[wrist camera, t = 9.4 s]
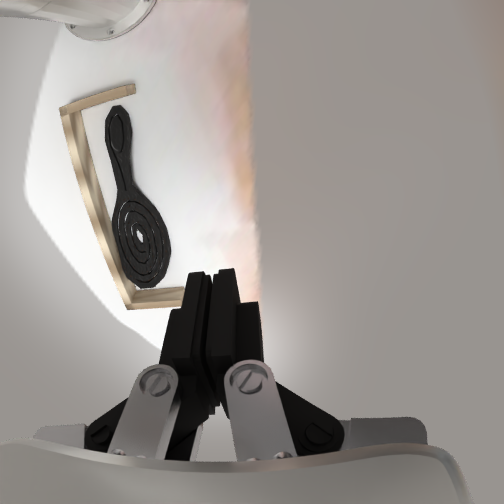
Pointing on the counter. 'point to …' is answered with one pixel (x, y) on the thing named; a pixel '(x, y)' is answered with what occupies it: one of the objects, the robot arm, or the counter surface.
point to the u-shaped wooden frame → (97, 206)
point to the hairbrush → (134, 211)
